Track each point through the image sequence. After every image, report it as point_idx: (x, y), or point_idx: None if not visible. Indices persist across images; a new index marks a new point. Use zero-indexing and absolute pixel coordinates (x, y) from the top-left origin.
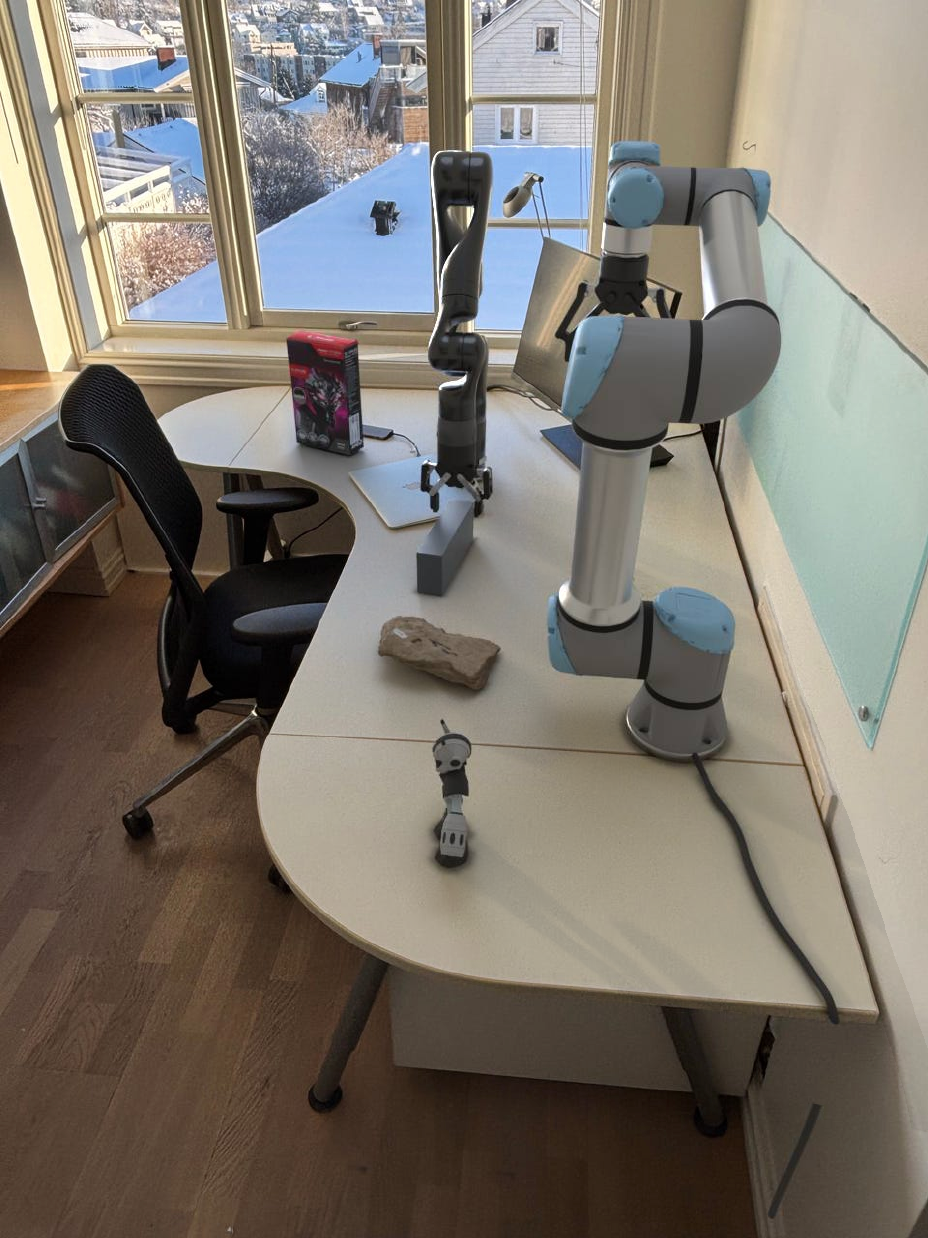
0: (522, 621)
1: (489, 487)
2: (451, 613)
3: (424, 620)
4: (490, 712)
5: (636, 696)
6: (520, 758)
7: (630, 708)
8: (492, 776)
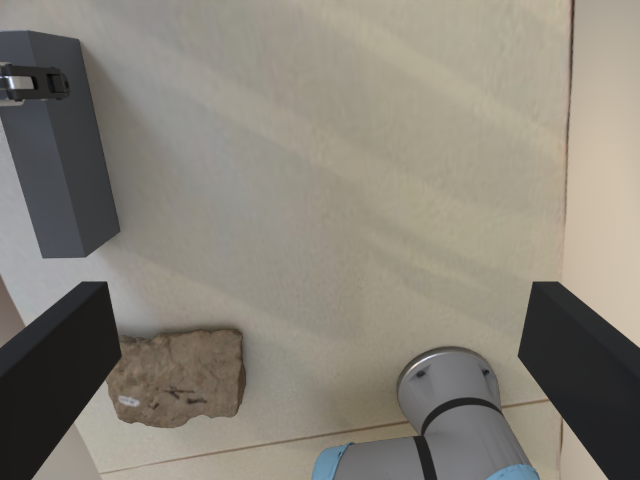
0: (246, 256)
1: (49, 97)
2: (152, 265)
3: (138, 349)
4: (265, 408)
5: (410, 413)
6: (309, 449)
7: (402, 405)
8: (292, 470)
